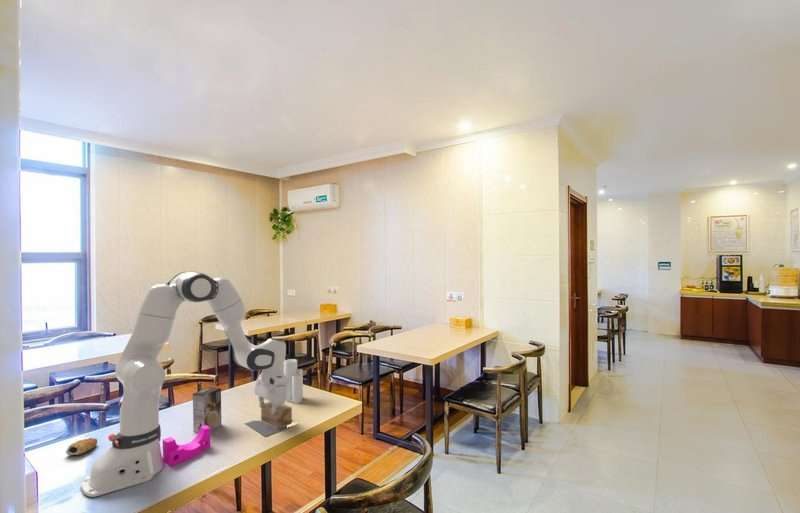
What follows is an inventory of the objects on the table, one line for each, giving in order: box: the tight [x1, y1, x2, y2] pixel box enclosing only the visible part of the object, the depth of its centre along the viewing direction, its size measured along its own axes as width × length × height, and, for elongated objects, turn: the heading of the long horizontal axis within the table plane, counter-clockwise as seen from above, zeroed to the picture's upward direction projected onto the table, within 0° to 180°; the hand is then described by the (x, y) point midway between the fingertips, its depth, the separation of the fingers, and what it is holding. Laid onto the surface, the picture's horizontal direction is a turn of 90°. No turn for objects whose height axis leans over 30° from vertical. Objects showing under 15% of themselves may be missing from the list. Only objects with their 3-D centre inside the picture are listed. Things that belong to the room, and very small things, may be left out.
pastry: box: [65, 437, 98, 456], centre depth 144 cm, size 9×7×4 cm
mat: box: [244, 420, 290, 438], centre depth 170 cm, size 30×18×1 cm, turn 138°
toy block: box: [162, 425, 211, 467], centre depth 141 cm, size 15×6×8 cm, turn 141°
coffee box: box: [192, 386, 222, 434], centre depth 162 cm, size 9×6×16 cm
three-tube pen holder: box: [283, 358, 304, 404], centre depth 192 cm, size 11×7×20 cm, turn 59°
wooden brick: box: [260, 401, 293, 429], centre depth 167 cm, size 7×13×7 cm, turn 48°
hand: (267, 410), depth 164 cm, fingers open, 8 cm apart
